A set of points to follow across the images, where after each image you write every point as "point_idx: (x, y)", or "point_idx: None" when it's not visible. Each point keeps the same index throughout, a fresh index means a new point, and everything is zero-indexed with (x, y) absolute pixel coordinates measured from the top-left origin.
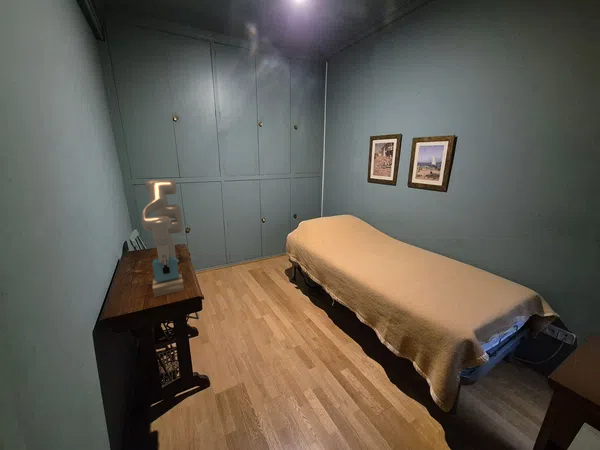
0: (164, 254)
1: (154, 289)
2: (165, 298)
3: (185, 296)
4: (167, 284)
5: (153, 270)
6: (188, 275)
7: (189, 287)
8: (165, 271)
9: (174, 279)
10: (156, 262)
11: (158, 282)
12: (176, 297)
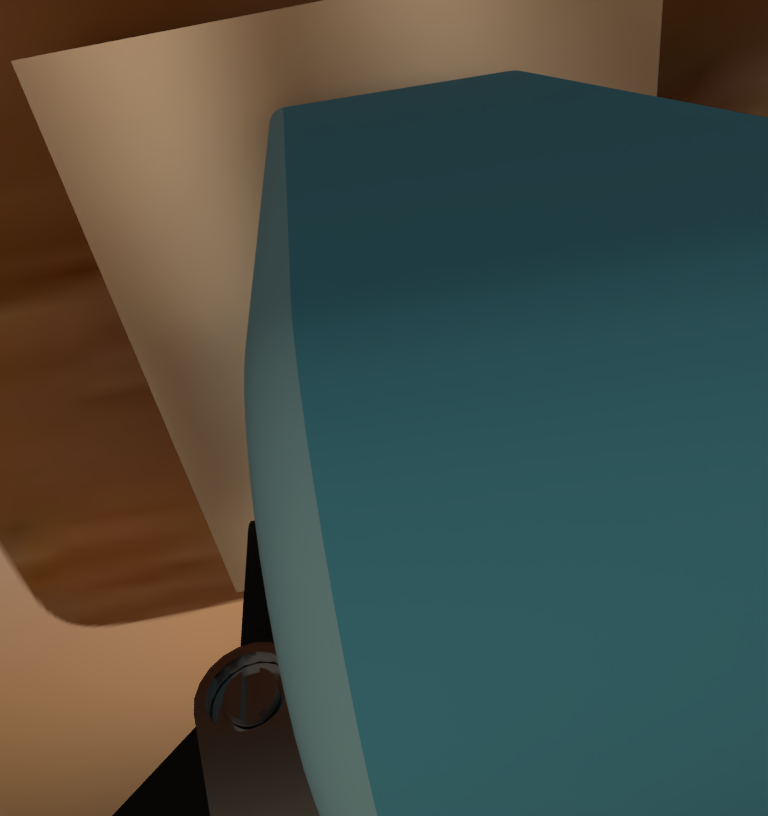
0: None
1: (41, 101)
2: (4, 280)
3: (40, 533)
4: (200, 368)
5: (268, 190)
6: None
7: None
8: (250, 564)
9: None
10: (323, 809)
11: None
12: (22, 433)
